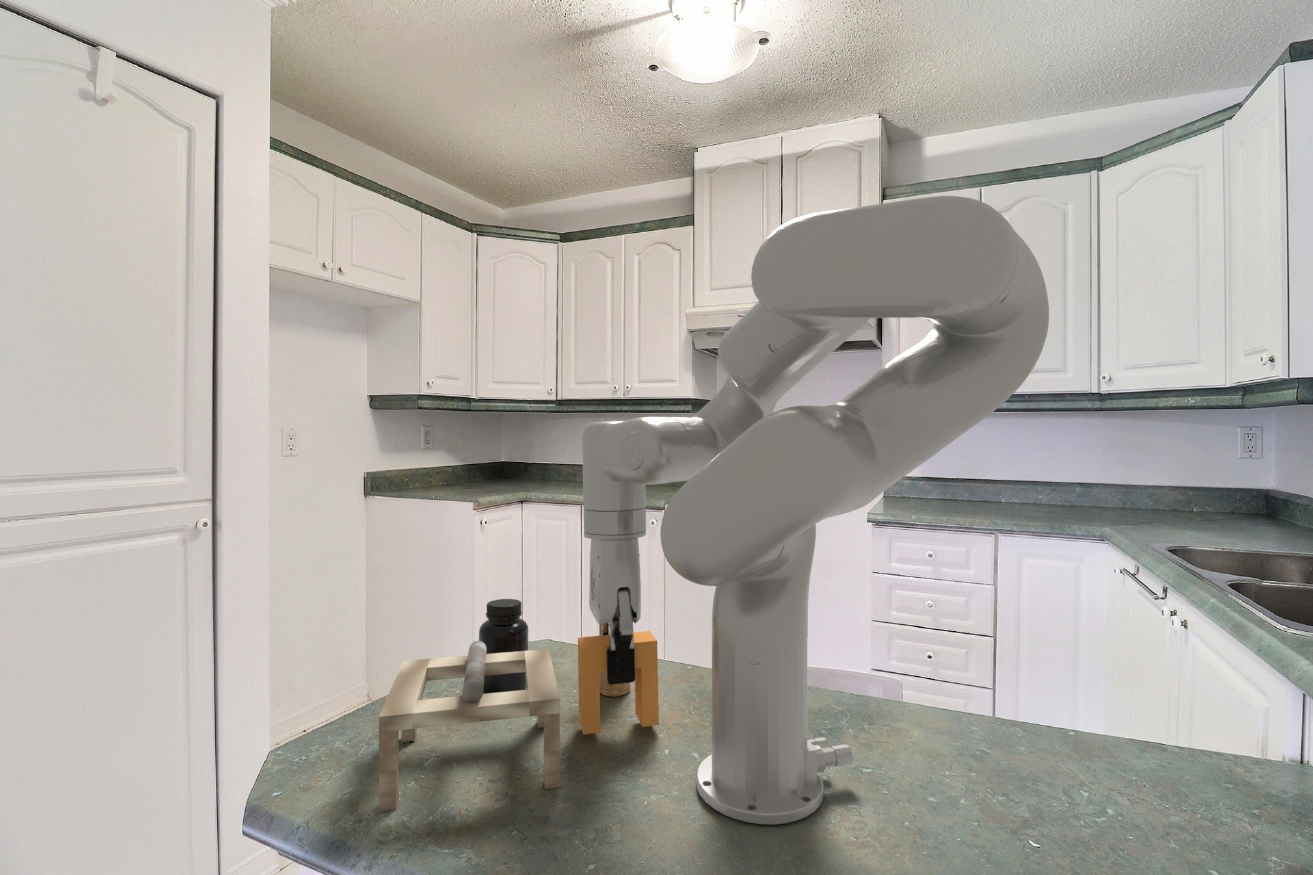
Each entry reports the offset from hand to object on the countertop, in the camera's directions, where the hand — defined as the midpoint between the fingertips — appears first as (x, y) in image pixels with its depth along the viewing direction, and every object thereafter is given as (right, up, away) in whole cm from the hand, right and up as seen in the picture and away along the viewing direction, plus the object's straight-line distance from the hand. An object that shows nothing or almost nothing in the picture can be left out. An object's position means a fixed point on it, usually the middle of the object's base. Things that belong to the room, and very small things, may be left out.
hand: (617, 673), depth 75 cm
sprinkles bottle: (-1, -7, +12) cm, 14 cm away
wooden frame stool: (-15, -7, -7) cm, 18 cm away
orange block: (0, -6, 0) cm, 6 cm away
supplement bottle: (-17, -7, +13) cm, 22 cm away
